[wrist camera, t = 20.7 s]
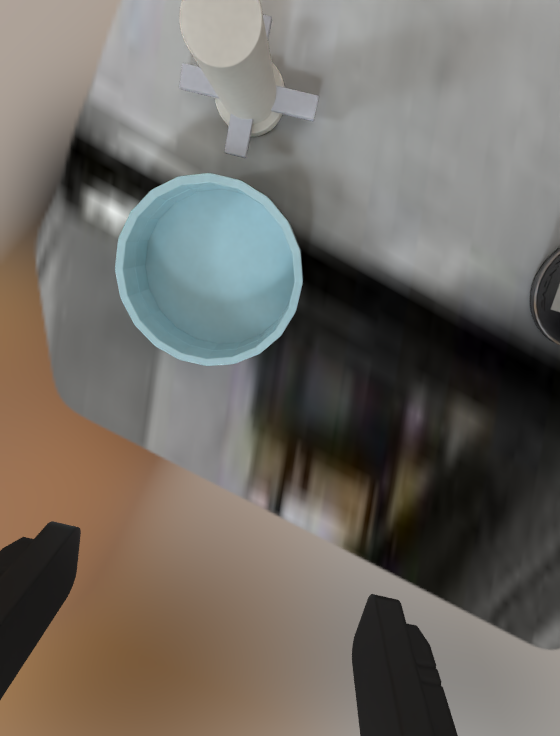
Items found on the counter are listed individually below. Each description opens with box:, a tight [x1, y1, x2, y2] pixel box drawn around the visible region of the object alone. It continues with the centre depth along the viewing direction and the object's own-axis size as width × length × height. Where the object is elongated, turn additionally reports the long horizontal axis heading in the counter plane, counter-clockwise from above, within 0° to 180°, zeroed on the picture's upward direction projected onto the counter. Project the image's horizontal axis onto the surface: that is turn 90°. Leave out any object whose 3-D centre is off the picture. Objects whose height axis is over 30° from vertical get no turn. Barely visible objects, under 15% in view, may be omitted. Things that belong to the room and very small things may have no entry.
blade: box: [179, 0, 319, 158], centre depth 27 cm, size 10×9×13 cm
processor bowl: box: [115, 173, 303, 366], centre depth 35 cm, size 14×14×6 cm
